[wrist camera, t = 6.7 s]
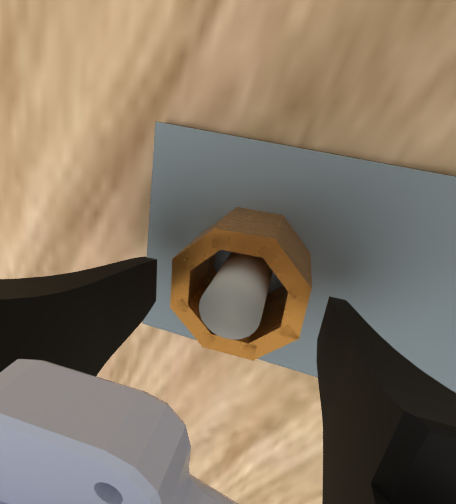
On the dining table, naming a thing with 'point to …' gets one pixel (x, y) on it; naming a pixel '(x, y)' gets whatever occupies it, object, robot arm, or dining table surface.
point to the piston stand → (311, 241)
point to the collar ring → (255, 244)
